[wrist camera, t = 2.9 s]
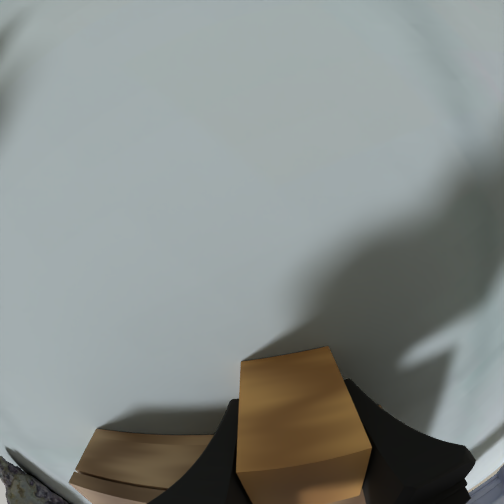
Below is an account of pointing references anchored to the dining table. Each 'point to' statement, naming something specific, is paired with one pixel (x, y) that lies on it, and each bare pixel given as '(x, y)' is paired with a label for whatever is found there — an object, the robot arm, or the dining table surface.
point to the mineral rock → (25, 487)
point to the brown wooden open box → (141, 457)
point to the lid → (137, 492)
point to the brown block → (299, 431)
